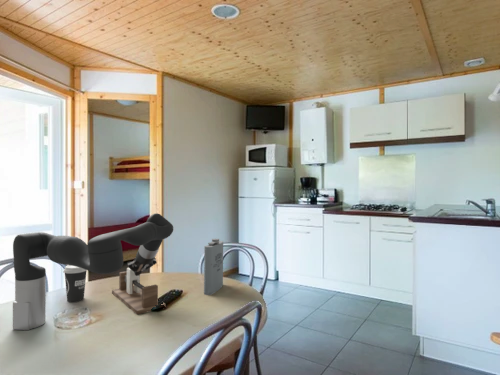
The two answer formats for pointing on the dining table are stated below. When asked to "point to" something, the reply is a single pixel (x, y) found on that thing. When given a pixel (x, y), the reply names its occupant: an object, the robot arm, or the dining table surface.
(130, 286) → the white slider block
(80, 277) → the coffee cup
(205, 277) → the flask
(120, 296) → the cord stand
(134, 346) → the dining table surface
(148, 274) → the dining table surface
